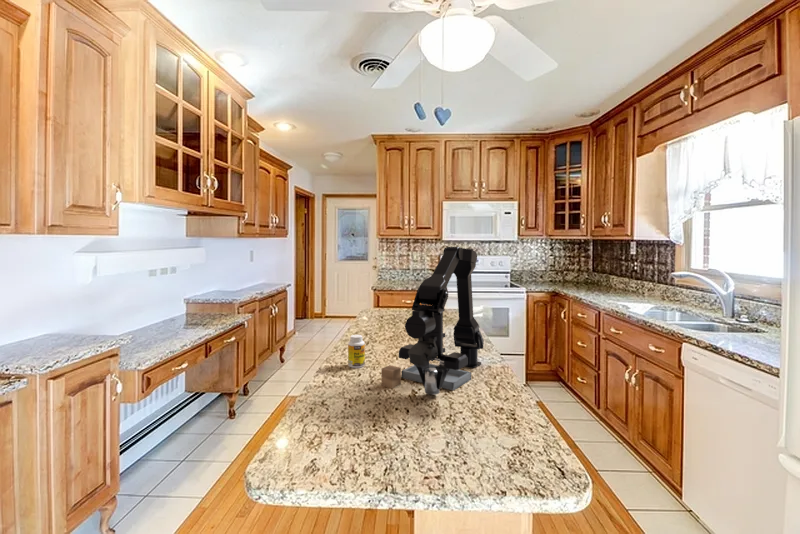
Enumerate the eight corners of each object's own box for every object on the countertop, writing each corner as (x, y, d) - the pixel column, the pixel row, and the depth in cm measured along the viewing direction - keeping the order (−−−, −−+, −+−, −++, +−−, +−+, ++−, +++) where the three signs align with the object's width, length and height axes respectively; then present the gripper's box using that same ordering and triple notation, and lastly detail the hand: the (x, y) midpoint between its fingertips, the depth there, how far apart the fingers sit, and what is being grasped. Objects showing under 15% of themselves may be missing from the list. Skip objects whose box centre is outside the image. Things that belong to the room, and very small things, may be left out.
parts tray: (421, 368, 131) (421, 361, 131) (471, 379, 120) (471, 372, 120) (401, 377, 122) (401, 370, 122) (453, 390, 111) (453, 382, 111)
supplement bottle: (352, 369, 130) (352, 338, 129) (345, 365, 134) (345, 335, 134) (367, 366, 133) (367, 336, 132) (360, 362, 138) (359, 333, 137)
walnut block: (389, 381, 119) (389, 365, 119) (400, 384, 117) (400, 367, 116) (381, 385, 116) (381, 368, 115) (392, 388, 113) (392, 371, 113)
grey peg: (429, 388, 111) (429, 366, 110) (442, 391, 108) (442, 369, 108) (421, 392, 107) (421, 370, 107) (434, 396, 105) (434, 373, 105)
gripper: (386, 331, 106) (386, 388, 107) (447, 342, 95) (447, 405, 96) (410, 324, 115) (410, 377, 116) (469, 332, 104) (468, 391, 105)
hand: (432, 387), depth 108 cm, fingers closed on grey peg, 4 cm apart
